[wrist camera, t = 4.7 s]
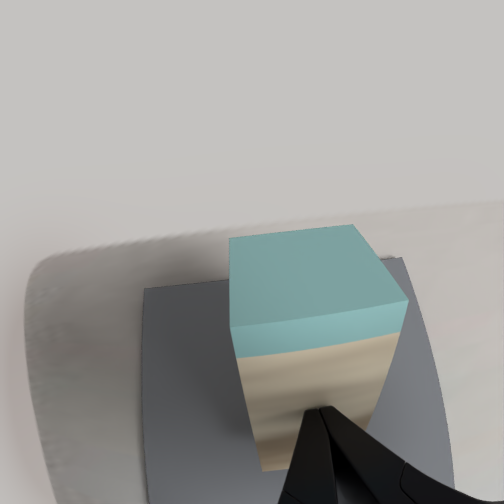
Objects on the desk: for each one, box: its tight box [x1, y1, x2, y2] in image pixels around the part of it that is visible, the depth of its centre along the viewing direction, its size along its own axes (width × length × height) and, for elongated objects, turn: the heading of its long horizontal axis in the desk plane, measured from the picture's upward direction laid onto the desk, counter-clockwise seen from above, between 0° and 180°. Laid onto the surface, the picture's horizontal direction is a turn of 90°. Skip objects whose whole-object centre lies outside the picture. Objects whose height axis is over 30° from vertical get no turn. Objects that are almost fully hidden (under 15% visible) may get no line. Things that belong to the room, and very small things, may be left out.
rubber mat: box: [142, 257, 455, 504], centre depth 13 cm, size 18×16×1 cm
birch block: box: [229, 224, 409, 472], centre depth 10 cm, size 4×4×9 cm
